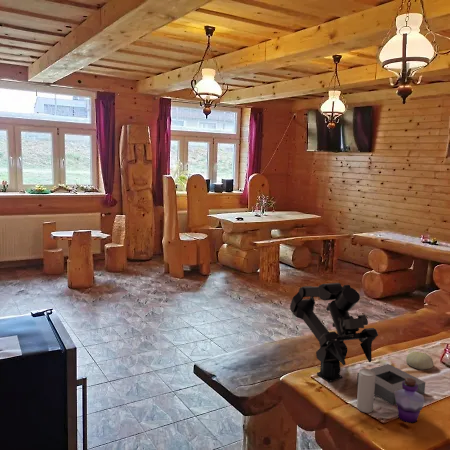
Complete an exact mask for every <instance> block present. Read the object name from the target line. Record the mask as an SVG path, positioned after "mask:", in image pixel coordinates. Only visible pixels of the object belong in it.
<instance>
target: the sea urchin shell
mask: <svg viewBox="0 0 450 450" xmlns="http://www.w3.org/2000/svg"><path fill="white" fill-rule="evenodd" d="M405 362H406V364H407V365H408V366H410V367H412V368H415V369H417V370H430V369H432V368H433V366H434V360H433V358H432V357H431V356H430V355H429V354H428V353H425V352H422V351H411V352H409V353H408V354H407V355H406V357H405Z"/></svg>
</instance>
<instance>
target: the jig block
mask: <svg viewBox="0 0 450 450" xmlns="http://www.w3.org/2000/svg"><path fill="white" fill-rule="evenodd" d="M370 370H372V371H374V372H375V390H374V396H376V397H378V398H380V399H381V398H382V400H383V401H385V402H386V401H387V404H390V405H392V406H394V405H395V406H396V403H395V392H394V391H397V390H400V389H403V388H402V382H403V381H405V378H413V379H415V380H416V383H417V385H418V391H415V392H417V393H419V394H421V395H424V394H425V391H426V381H423V380H422V379H420V378H418V377H415V376H414V375H412V374H410V373H408V372H406V371H405V370H404V371H403V370H401V369H399V368H397V367H396V366H394V365H391V364H389V363H386V364H383V365H379V366H376V367H373V368H370ZM356 376H357V378H356V379H357V380H356V385H358V378H359V372H357V375H356Z"/></svg>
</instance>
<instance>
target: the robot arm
mask: <svg viewBox="0 0 450 450" xmlns="http://www.w3.org/2000/svg"><path fill="white" fill-rule="evenodd" d="M307 297H308V298H307ZM304 298H305V299H304ZM315 298H319V300H322V301H325V302H326V301H330V302H327V303H328V304H327V306H326V309H325V311H326V312H329V313H330V316H331V318H332V321H333V323H332V328H335V330H336V332H335V331H329V330H328V329H327V327H326V326H325V324H324V323H323V322H322V321H321V320H320V318H319V317H318V316H317V315H316V313H315V312H314V309H315V305H316V301H315ZM360 298H361V296H360V293H359V292H358V291H357V290H356V289H354V288H353V287H351V285H350V284H344V285H343V286H342V284H341V283H340V282H331V283H322V284H319V285H318V286H312V285H310V286H309V285H307V286H306V285H305V286H301V287H300V288H299V290H298V292H297V293H296V294H295V295H294V296H293V297H292V298H291V302H290V306H289V309H290V311H291V313H292V314H293V315H294V316H295V318H297V319H299V320H302V321H303V322H304V323H305V325H306V326H307V327H308V329H309V330H310V331H311V333H312V334H313V335H314V337H315V339H317V342H318V343H319V349H317V351H316V352H315V357H316V359H317V360H318V361H319V362H320V368H319V369H320V371H318V372H316V375H317V376H319V377H320V378H321V379H324V380H325V381H326V382H329V383H330V382H333V381H336V380H340V379H343V375H341V364H342V365H343V366H345V365H346V364H347V363H346V357H347V353H348V352H349V351H348V346H347V345H346V343H345V341H352V340H354V341H355V340H359V342H360V344H359V345H360V347H361V349H362V351H363V353H364V355H365V357H366V359H367V361H368V362H369V363H371V362H372V360H373V357H372V355H373V354H372V345H373V342H374V340H376V338H377V337H378V336H379V333H378V330H377V329H376V328H374V327H369V328H367V327H366V328H365V326H366V325H367V326H368V324H369V323H368V322H369V321H368V318H367V316H366V314H361V315H357V318H355V317H354V316H353V315H350V312H349V311H351V310H352V309H353V308H354V307H355V306H356V304H357V303H358V302H360V300H361V299H360ZM360 329H362V330H361V331H360ZM359 331H360V332H359Z"/></svg>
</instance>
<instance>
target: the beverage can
mask: <svg viewBox="0 0 450 450" xmlns="http://www.w3.org/2000/svg"><path fill="white" fill-rule="evenodd" d="M370 369H371V368H370ZM370 369H369V368H361V369H359V371H358V373H359V378H358V384H357V394H356V395H357V396H356V408H357V409H358V411H360V412H362V413H366V414H368V413H371V412H372V411H373V410H374V403H375V402H374V400H375V394H374V390H375V372H374V371H372V370H370Z"/></svg>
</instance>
